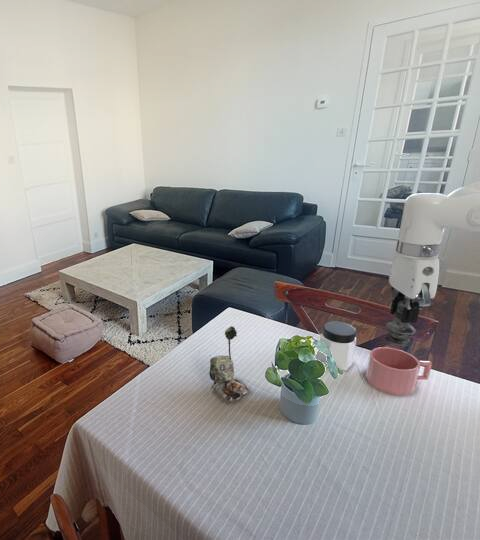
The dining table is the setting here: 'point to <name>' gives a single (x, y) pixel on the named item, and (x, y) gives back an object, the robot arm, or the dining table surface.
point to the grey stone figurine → (399, 328)
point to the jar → (339, 343)
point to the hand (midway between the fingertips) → (402, 317)
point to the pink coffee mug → (395, 370)
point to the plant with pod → (226, 372)
